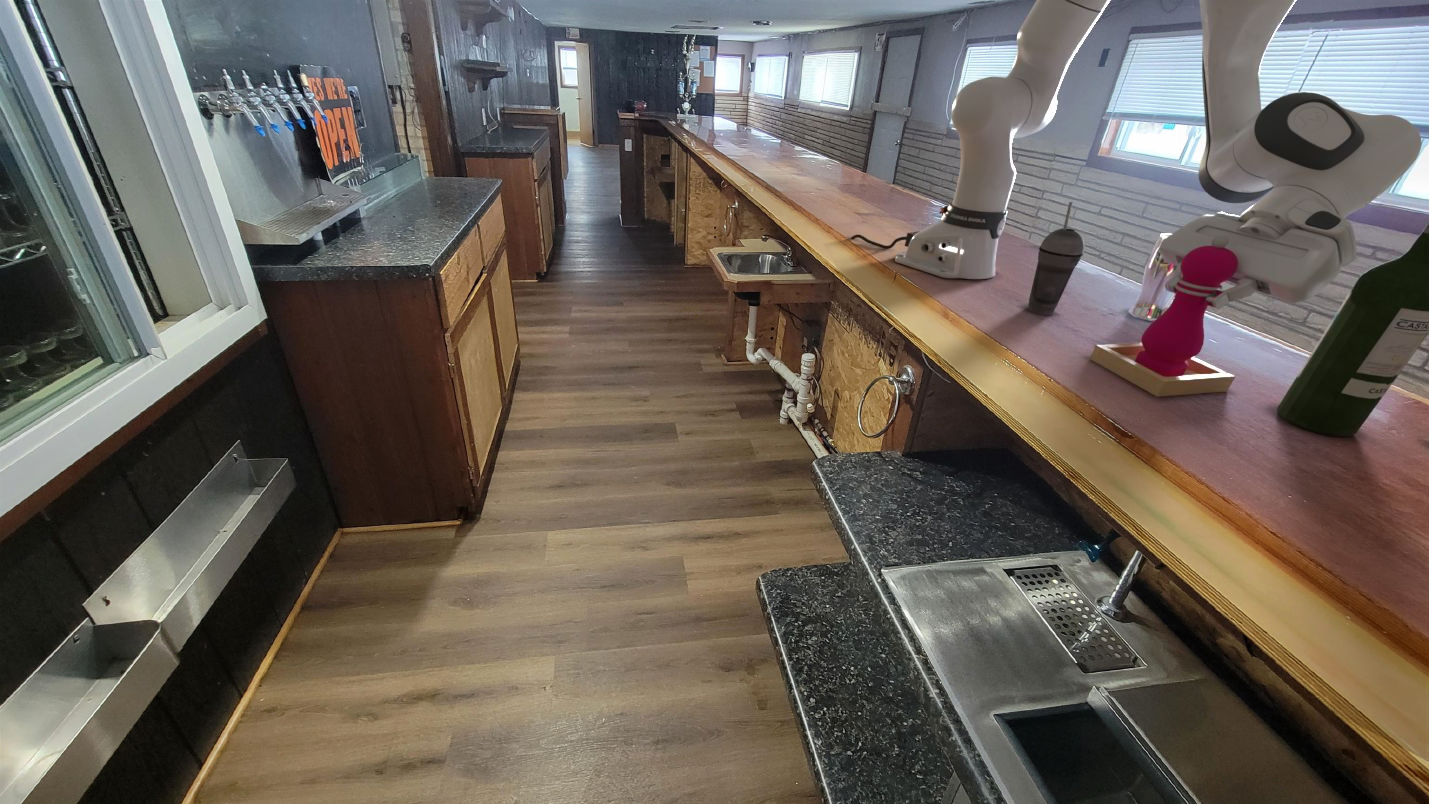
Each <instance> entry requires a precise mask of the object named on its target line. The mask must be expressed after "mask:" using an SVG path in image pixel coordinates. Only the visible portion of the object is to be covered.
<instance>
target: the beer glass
mask: <svg viewBox="0 0 1429 804" xmlns="http://www.w3.org/2000/svg"><path fill="white" fill-rule="evenodd" d="M1171 234H1172V233H1161V234H1160V235H1159V237H1158V239H1157V241H1156V243H1155V245H1154V246H1153V249H1152V250H1151V253H1150V255H1149V257H1148V260H1147V262H1146V265H1145V269H1144V272H1143V275H1142V276H1143V277H1142V282H1141V285H1140V286H1141V287H1140V290H1139V292H1138V296H1137V298H1136V299H1135V301H1134V303H1133V305H1132V306H1131V307H1130V309H1129V310H1128V314H1129V315H1130V316H1132V317H1134V318H1136V319H1139V320H1143V321H1147V322H1151V323H1153V322H1154V321H1155V320H1156V319H1157V318H1159V317H1160V316H1161V315H1162V314H1163V313H1164V312H1165V311H1166V310H1167V309H1168V308H1169V307H1170V305H1171V304H1172V302H1173V300H1174V298H1175V295H1176V294H1175V293H1172V292H1170V291H1167V290H1166V288H1165V283H1166V282H1167V281H1168V280H1170V279H1171V278H1172V277H1173V276H1174V274H1175V271H1176V269H1177V266H1175V265H1172V264H1169V263H1166V262H1165V261H1164V260H1163V258H1162V255H1161V253H1160V244H1161V242H1162V241H1163V240H1164V239H1166V238H1167V237H1168V236H1170V235H1171Z"/></svg>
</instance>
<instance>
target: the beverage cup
mask: <svg viewBox="0 0 1429 804" xmlns="http://www.w3.org/2000/svg"><path fill="white" fill-rule="evenodd" d="M1073 203H1074V202H1073V201H1069V202H1068V206H1067V211H1066V214H1065V220H1064V222H1063V227H1062V228H1058V229H1055V230H1053V231H1051V232H1050V233H1049V234H1047V235H1046V237H1045V238H1044V239H1043V240H1042V242H1041V244H1040V246H1039V247H1038V255H1037V264H1036V269H1035V273H1034V277H1033V280H1032V286H1031V290H1030V294H1029V297H1028V306H1027V311H1029V312H1031V313H1034V314H1038V315H1041V316H1051V315H1053V314H1054V312H1055V310H1056V308H1057V307H1058V304H1059V302H1060V300H1061V298H1062V296H1063V294H1064V292H1065V290H1066V287H1067V285H1068V284H1069V281H1070V279H1071V277H1072V276H1073V275H1072V274H1073V273H1074V270H1075V268H1076V267H1077V266H1078V264H1079V262H1080V260H1082V259H1081V258H1082V257H1083V256H1084V251H1085V241H1084V238H1083V236H1082V234H1080V233H1079V232H1078V231H1077V230H1075V229H1072V228H1068V224H1069V221H1070V215H1071V210H1072V208H1073V207H1072V206H1073Z"/></svg>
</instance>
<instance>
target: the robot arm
mask: <svg viewBox="0 0 1429 804" xmlns="http://www.w3.org/2000/svg"><path fill="white" fill-rule="evenodd" d="M1110 1H1111V0H1036V1H1035V2H1034V4H1033V6H1032V7H1031V9H1030V10H1029V12H1028V14H1027V16H1026V17H1025V18H1024V19H1025V20H1024V21H1023V23H1022V24H1021V27H1020V28H1019V30H1018V32H1017V36H1016V44H1017V50H1016V55H1015V58H1014V62H1013V64H1012V67H1011V70H1010V71H1009V73H1008V74H1007V76H987V77H984V78H980V79H977V80H973V81H971V82H969V83H967V84H966V85H965V86H963V87H962V88H961V89H960V90H959V91H958V93H957V94H956V96H955V98H954V101H953V103H952V107H951V113H950V114H951V122H952V125H953V127H954V128H955V130H956V131H957V135H958V137H959V145H960V147H959V148H960V165H959V174H958V177H957V182H956V186H955V187H956V188H955V192H954V196H953V200H952V202H951V203H950V204H948V205H946V206H943V207H941V208H939V210H940V211H938V212H939V213H938V214H940V215H941V218H940V220H938V221H936V222H934V223H932V224H931V225H929V226H927V227H925V228H924V229H922V230H918V231H917V230H916V231H911V232H907V233H906V236H900V237H897V238H895V239H894V240H893V241H892V242H891V243H890V244H888V245H884V244H881V243H878V242H875V241H873V240H870V239H869V238H867V237H866V236H864V235H861V234H854V235H853V236H851V237H850V240H855V239H861V240H862V241H864V242H866V243H867V244H871V245H872V246H875V247H878V248H881V249H884V250H889V249H892V248H894V246H895V245H896V244H897V243H898V242H901V241H905V242H904V247H907V249H906V250H905V251H902V252H900V253H898V254H896V255H895V258H894V262H895V263H898V264H901V265H904V266H907V267H910V268H913V269H915V270H919V271H922V272H925V273H927V274H928V273H929V274H931V275H934V276H937V277H939V278H940V277H941V278H944V279H966V280H986V279H987V280H988V279H991V278H994V277H996V258H997V252H998V251H997V250H998V244H999V239H1000V237H1001V236H1002V234H1003V231H1004V228H1005V225H1006V220H1007V215H1008V210H1007V208H1008V205H1009V201H1010V198H1011V193H1012V190H1013V188H1014V183H1015V179H1016V177H1017V176H1016V175H1017V171H1016V167H1015V165H1014V163H1013V157H1012V143H1013V139H1022V138H1025V137H1028V136H1031V135H1033V134H1036V133H1038V132H1040V131H1042V130H1043V129H1045V128H1046V127H1047V126H1048V125H1049V124H1050V122H1051V121H1052V120H1053V118H1054V116H1055V113H1056V110H1057V105H1058V100H1057V98H1058V97H1057V96H1058V92H1059V89H1060V87H1061V84H1062V82H1063V79H1064V77H1065V75H1066V72H1067V70H1068V68H1069V65H1070V63H1071V62H1072V60H1073V58H1074V56H1075V55H1076V53H1077V52H1078V50H1079V48H1080V47H1081V46H1082V44H1083V42H1084V41H1085V39H1086V38H1087V36H1088V35H1089V33H1090V32H1091V30H1092V29H1093V27H1094V25H1095V24H1096V22H1097V21H1098V20H1099V18H1100V17H1101V15H1102V13H1103V12H1104V10H1105V8H1106V7H1107V6H1108V4H1109V3H1110ZM1198 1H1199V9H1200V19H1201V20H1200V21H1201V32H1202V41H1201V43H1202V46H1201V47H1202V48H1201V49H1202V51H1201V52H1202V53H1201V80H1202V95H1203V96H1202V97H1203V109H1204V122H1205V147H1204V150H1203V154H1202V157H1201V160H1200V163H1199V167H1198V181H1199V184H1200V186H1201V188H1202V189H1203V191H1204V192H1205V193H1206V194H1208V195H1209V196H1210V197H1212V198H1213V199H1215V200H1217V201H1221V202H1223V203H1226V204H1227V203H1229V204H1243V203H1250V202H1253V201H1256V200H1257V201H1256V202H1255V203H1253V205H1251V206H1250V207H1249V208H1247V209H1246V210H1245V211H1244V212H1242V213H1241V214H1240V215H1238V214H1237V215H1236V214H1228V213H1226V212H1223V211H1215V212H1214V213H1209V214H1208V213H1207V214H1202V215H1200V216H1199V217H1197V218H1195V219H1193V220H1191V221H1189V222H1187V223H1185V224H1184V225H1182V226H1181V227H1180V228H1178V229H1177V230H1175V231H1174V232H1172V233H1170V234H1171V235H1170V236H1168V237H1167V238H1166V239H1164V240H1163V241H1162V242H1161V244H1160V253H1161V255H1162V258H1163V260H1164V261H1165V262H1166V263H1169V264H1172V265H1175V266H1177V269H1176V271H1175V274H1174V276H1173V277H1172V278H1171V279H1170V280H1168V281H1167V282H1166V283H1165V288H1166V290H1167V291H1170V292H1172V293H1175V294H1176V292H1177V289H1176V288H1175V285H1176V284H1177V283H1178V279H1179V278H1181V277H1183V274H1182V272H1181V269H1180V265H1181V262H1182V260H1183V259H1184V257H1185V256H1186V255H1187V254H1188V253H1189V252H1190V251H1192V250H1193V249H1195V248H1198V247H1201V246H1212V244H1211V242H1212V240H1213V238H1214V237H1216V236H1218V235H1225V236H1227V237H1228V238H1229V243H1228V244H1227V245H1226V246H1225V247H1224V248H1226V249H1229V250H1230V251H1232V252H1233V253H1234V254H1235V255H1236V257H1237V259H1238V266H1237V269H1236V272H1235V273H1234V275H1233V276H1232V277H1231V278H1229V279H1228V280H1226V281H1224V282H1225V283H1228V284H1231V285H1234V286H1233V287H1230V288H1227V289H1224V290H1220V291H1219V290H1215V291H1214V292H1213V293H1212V295H1209V296H1208V297H1207V298H1206V302H1207V305H1208V306H1207V307H1210V308H1214V309H1216V310H1221V309H1222V308H1224V307H1225V306H1226V305H1227V304H1228V303H1231V302H1235V301H1238V300H1242V299H1245V298H1249V297H1251V296H1252V295H1253V294H1255V293H1256V292H1257V293H1259V294H1263V295H1266V296H1269V297H1272V298H1275V299H1277V300H1282V301H1285V302H1288V303H1291V304H1295V303H1296V304H1298V303H1300V302H1301V303H1302V302H1306V301H1308V300H1310V299H1312V298H1313V297H1316V295H1318V294H1319V293H1320V292H1321V291H1322V290H1324V289H1325V288H1326V287H1327V286H1328V285H1329V284H1331V283H1332V282H1333V281H1334V280H1335V279H1337V277H1338V276H1339V275H1340V273H1341V271H1342V269H1341V268H1343V267H1347V266H1348V265H1350V264H1351V263H1353V262H1354V261H1355V260H1356V259H1357V241H1356V235H1355V231H1354V228H1353V224H1352V223H1351V221H1350V220H1348V219H1347V217H1348V216H1349V215H1351V214H1353V213H1355V212H1357V211H1360V210H1361V209H1363V208H1365V207H1366V206H1368V205H1369V204H1370V203H1372V202H1373V201H1374V200H1376V199H1377V198H1378V197H1380V195H1382V194H1383V193H1384V192H1386V191H1387V190H1388V189H1389V188H1390V187H1392V186H1393V185H1394V184H1395V183H1396V182H1397V181H1398V180H1399V179H1401V177H1403V176H1404V174H1405V173H1406V172H1408V170H1409V169H1410V168H1411V167H1412V166H1413V164H1415V162H1416V161H1417V159H1418V157H1419V155H1420V152H1421V149H1422V136H1421V134H1420V131H1419V130H1418V128H1417V127H1416V126H1415V125H1414V124H1413V123H1411V122H1410V121H1409V120H1407V119H1405V118H1404V117H1401V116H1398V115H1394V114H1365V113H1361V112H1357V111H1355V110H1350V109H1348V108H1345V107H1342V106H1341V105H1340V104H1339V103H1338V102H1336V101H1335V100H1334V99H1333V98H1331V97H1329V96H1328V95H1326V94H1325V95H1324V94H1322V93H1318V92H1313V91H1312V92H1311V91H1298V92H1294V93H1288V94H1285V95H1282V96H1280V97H1278V98H1276V99H1274V100H1272V101H1271V102H1269V103H1268V104H1267V105H1266V106H1265V107H1263V108H1262V102H1261V101H1262V100H1261V87H1260V71H1261V64H1262V61H1263V58H1264V55H1265V53H1266V50H1267V48H1268V46H1269V45H1270V42H1271V41H1272V39H1273V37H1274V35H1275V33H1276V32H1277V30H1278V28H1279V27H1280V25H1281V23H1282V22H1283V20H1284V19H1285V17H1286V16H1287V14H1288V13H1289V11H1290V10H1291V9H1292V7H1293V5H1294V4H1295V2H1296V1H1297V0H1198ZM1258 199H1259V200H1258Z"/></svg>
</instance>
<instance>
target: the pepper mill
mask: <svg viewBox="0 0 1429 804" xmlns="http://www.w3.org/2000/svg"><path fill="white" fill-rule="evenodd" d="M1228 243H1229V238H1228V237H1227V236H1225V235H1218V236H1216V237H1214V238H1213V240H1212V242H1211V244H1212V246H1201V247H1198V248H1195V249H1193V250H1192V251H1190V252H1189V253H1188V254H1187V255H1186V256H1185V257H1184V259H1183V260H1182V262H1181V265H1180V269H1181V272H1182V274H1183V277H1181V278H1179V279H1178V283H1177V284H1176V285H1175V288H1176V289H1177V292H1176V295H1175V297H1174V298H1173V300H1172V302H1171V304H1170V307H1169V308H1168V309H1167V310H1166V311H1165V312H1164V313H1163V314H1162V315H1161V316H1160V317H1159V318H1157V319H1156V320H1155V321H1154V322H1151V323H1150V325H1148V327H1146V329H1145V330H1144V332H1143V333H1142V335H1141V339H1140V341H1141V342H1140V343H1142V345H1143V347H1144V349H1145V350H1142V351H1140V352H1139V353H1138V355H1137V357H1136V359H1135V362H1136V363H1138V364H1140V365H1142V366H1144V367H1146V368H1148V369H1150V370H1152V371H1154V372H1155V373H1157V374H1159V375H1161V376H1164V377H1174V376H1183V375H1184V373H1185V371H1186V369H1187V367H1188V362H1187V361H1186V360H1188V359H1190V358H1192V357H1197V356H1198V355H1199V354H1200V352H1201V351H1202V348H1203V346H1204V343H1205V342H1204V341H1205V328H1204V327H1205V326H1204V318H1205V313H1206V311H1207V308H1208V307H1209V306H1208V305H1207V302H1206V298H1207V297H1208V296H1209V295H1212V293H1213V292H1214V291H1215V290H1219V291H1222V289H1223V286H1222V283H1224V282H1225V281H1226V280H1228V279H1229V278H1231V277H1232V276H1233V275H1234V273H1235V272H1236V269H1237V266H1238V259H1237V257H1236V255H1235V254H1234V253H1233V252H1232V251H1230V250H1229V249H1226V248H1224V247H1225V246H1226V245H1227V244H1228Z"/></svg>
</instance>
